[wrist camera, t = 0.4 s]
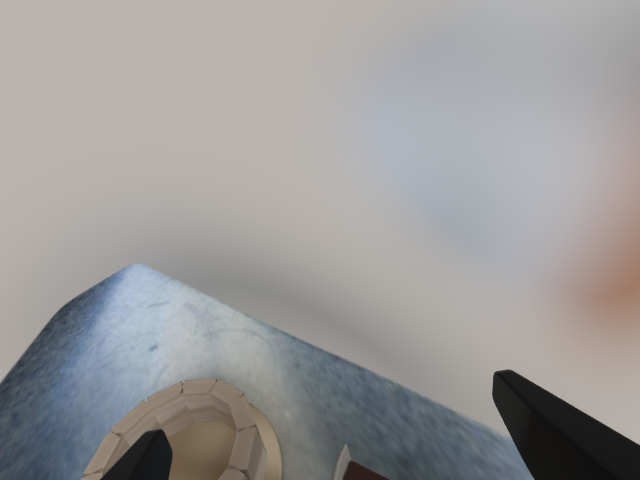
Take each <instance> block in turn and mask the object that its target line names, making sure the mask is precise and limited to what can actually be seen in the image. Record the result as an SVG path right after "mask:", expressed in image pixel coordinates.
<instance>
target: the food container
mask: <svg viewBox="0 0 640 480" xmlns="http://www.w3.org/2000/svg"><path fill="white" fill-rule="evenodd" d="M331 480H389V479H387V478H385V477H383V476H381V475H379V474H377V473H375V472H373V471H371V470H369V469H367V468H365V467H363V466H361V465H359V464H357V463H355V462H353V461H352V459H351V456H350V453H349V450H348V447H347V444H345V445H344V448H343V450H342V449H341V451H340V454H339V456H338V459H337V462H336V464H335V467H334V470H333V474H332V479H331Z"/></svg>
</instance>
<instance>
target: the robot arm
mask: <svg viewBox="0 0 640 480" xmlns="http://www.w3.org/2000/svg"><path fill="white" fill-rule="evenodd" d="M492 395H493V400H494V403H495V405H496V407H497V409H498V411H499V413H500V415H501V417H502V419H503V421H504V423H505V425H506V427H507V429H508V431H509V433H510V435H511V437H512V439H513V441H514V443H515V445H516V447H517V449H518V451H519V453H520V455H521V457H522V459H523V461H524V463H525V464H526V466H527V468H528V469H529V471H530V473H531V474H532V476H533V478H534V479H535V480H640V445H639V444H637V443H635V442H633V441H632V440H630V439H628V438H626V437H625V436H623V435H622V434H620V433H618V432H616V431H615V430H613V429H611V428H610V427H608V426H606V425H605V424H603V423H601V422H599V421H598V420H596V419H594V418H593V417H591V416H589V415H587V414H586V413H584V412H582V411H581V410H579V409H577V408H575V407H574V406H572V405H570V404H569V403H567V402H565V401H564V400H562V399H560V398H558V397H557V396H555V395H553V394H552V393H550V392H548V391H546V390H545V389H543V388H541V387H540V386H538V385H536V384H534V383H533V382H531V381H529V380H528V379H526V378H524V377H523V376H521V375H519V374H517V373H516V372H514V371H512V370H502V371H496V372H495V373H494V376H493V391H492ZM172 458H173V452H172V448H171V446H170V443H169V441H168V439H167V437H166V434H165V432H164V430H162V429H155V430H149V431H146V432H145V433H143V434H142V435H141V437H140V438H139V439H138V440H137V441H136V442H135V443H134V444H133V445H132V446H131V447H130V448H129V449H128V450H127V451H126V452H125V453H124V454H123V456H122V457H121V458H120V459H119V460H118V461H117V462H116V463H115V464H114V465H113V466H112V467H111V468H110V469H109V470H108V471H107V472H106V474H105V475H104V476H103V477H102V478H101V479H100V480H169V475H170V470H171V464H172Z"/></svg>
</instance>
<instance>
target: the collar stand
mask: <svg viewBox="0 0 640 480" xmlns="http://www.w3.org/2000/svg"><path fill="white" fill-rule="evenodd" d="M155 429H162V430H164V432H165V434H166V437H167V439H168V441H169V443H170V446H171V448H172V452H173V458H172V464H171V470H170V475H169V480H282V457H281V452H280V447H279V444H278V441H277V438H276V435H275V432H274V430H273V428H272V426H271V424H270V422H269V421H268V419H267V418H266V417H265V415H264V414H263V413H262V412H261V411H260V410H259V409H257V408H256V407H254V406H253V405H252V404H250V403H248V401H247V398H246V396H245V395H244V393H243V392H242V391H240V390H238V389H236V388H234V387H233V386H231V385H229V384H227V383H225V382H224V381H222V380H220V379H219V380H218V381H217V379H199V380H185V382H184V384H183V383H182V381H181V382H179V383H177V384H175V385H172V386H170V387H168V388H166V389H164V390H162V391H160V392H157V393H155V394H153V395H151V396H149V397H147V402H146V401H144V400H143V401H141V402H140V403H139V404H138V405H137V406H136V407H135V408H134V409H133V410H131V411H130V412H129V413H128V414H127V415H126V416H125V417H124V418H123V419H121V420H120V421H119V422H118V423H117V424H116V425H115V426H114V427H112V428H111V429H110V430H111V431H112V432H113V433H107V434H106V436H105V438H104V439H103V441H102V443H101V444H100V446H99V448H98V449H97V451H96V453H95V454H94V456H93V458H92V459H91V461H90V463H89V464H88V466H87V468H86V469H85V471H84V473H83V475H84V476H85V477H83V478H81V480H100V479H101V478H102V477H103V476H104V475H105V474H106V472H107V471H108V470H109V469H110V468H111V467H112V466H113V465H114V464H115V463H116V462H117V461H118V460H119V459H120V458H121V457H122V456H123V454H124V453H125V452H126V451H127V450H128V449H129V448H130V447H131V446H132V445H133V444H134V443H135V442H136V441H137V440H138V439H139V438H140V437H141V435H142V434H143V433H145V432H146V431H149V430H155Z"/></svg>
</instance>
